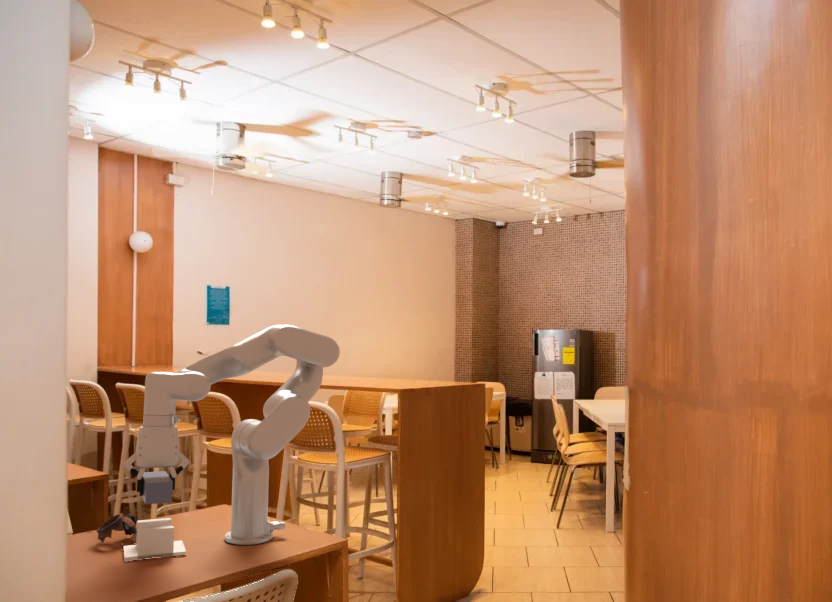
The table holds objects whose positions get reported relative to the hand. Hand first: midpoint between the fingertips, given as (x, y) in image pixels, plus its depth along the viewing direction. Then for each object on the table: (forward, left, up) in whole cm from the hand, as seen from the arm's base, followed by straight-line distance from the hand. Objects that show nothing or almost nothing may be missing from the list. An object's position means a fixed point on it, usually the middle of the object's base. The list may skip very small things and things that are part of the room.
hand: (155, 493), depth 174 cm
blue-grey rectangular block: (0, 0, -1) cm, 1 cm away
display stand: (0, 0, -15) cm, 15 cm away
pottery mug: (+7, -13, -15) cm, 21 cm away
